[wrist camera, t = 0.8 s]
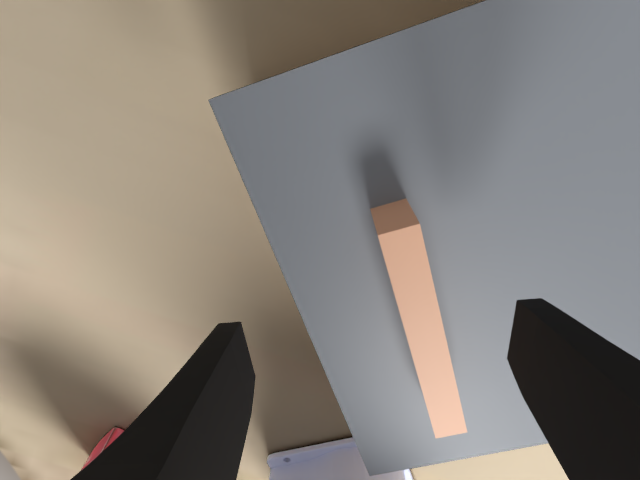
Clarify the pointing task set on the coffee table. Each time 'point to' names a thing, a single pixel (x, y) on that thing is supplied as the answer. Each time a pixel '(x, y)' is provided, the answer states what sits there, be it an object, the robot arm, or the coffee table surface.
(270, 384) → the coffee table surface
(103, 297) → the coffee table surface
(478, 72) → the lid
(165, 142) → the coffee table surface
